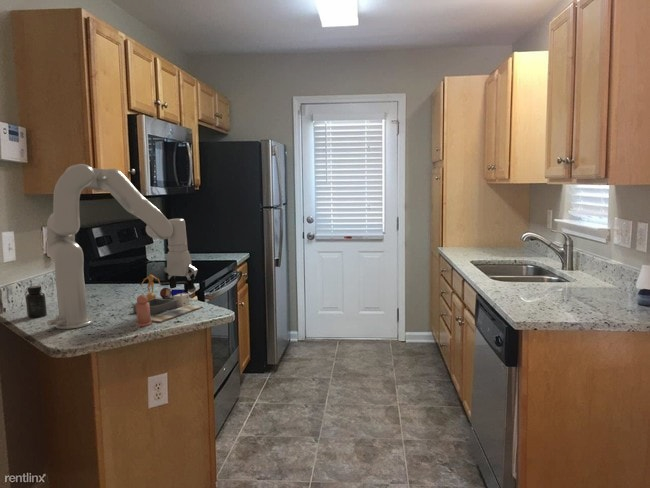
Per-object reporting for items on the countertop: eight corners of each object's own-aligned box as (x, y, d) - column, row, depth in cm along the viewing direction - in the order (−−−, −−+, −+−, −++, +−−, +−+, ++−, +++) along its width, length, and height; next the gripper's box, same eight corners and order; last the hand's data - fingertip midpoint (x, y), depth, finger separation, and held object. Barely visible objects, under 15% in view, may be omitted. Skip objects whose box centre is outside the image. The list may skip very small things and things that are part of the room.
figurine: (140, 303, 226) (137, 276, 225) (144, 300, 232) (142, 273, 231) (159, 302, 226) (157, 275, 225) (163, 299, 232) (161, 272, 231)
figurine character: (192, 296, 243) (158, 297, 236) (193, 280, 243) (159, 280, 236) (195, 299, 237) (160, 300, 230) (196, 282, 237) (161, 282, 230)
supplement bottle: (30, 315, 213) (27, 286, 211) (48, 313, 214) (46, 284, 213) (25, 319, 206) (22, 289, 205) (44, 317, 208) (41, 287, 206)
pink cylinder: (144, 327, 188) (141, 297, 186) (133, 326, 190) (131, 296, 189) (154, 323, 192) (152, 294, 191) (144, 322, 195) (142, 293, 193)
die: (182, 307, 217) (181, 295, 216) (173, 306, 219) (172, 295, 219) (190, 304, 221) (189, 293, 221) (181, 303, 223) (180, 292, 223)
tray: (155, 314, 206) (155, 307, 205) (133, 312, 211) (133, 304, 211) (177, 307, 216) (176, 300, 216) (155, 305, 222) (154, 298, 221)
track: (160, 322, 193) (160, 321, 193) (144, 320, 196) (144, 319, 196) (202, 307, 214) (202, 306, 214) (187, 306, 218) (187, 304, 218)
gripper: (156, 249, 218) (160, 289, 220) (188, 250, 210) (192, 291, 213) (168, 246, 225) (172, 285, 227) (200, 247, 217) (204, 287, 219)
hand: (182, 288), depth 220 cm, fingers open, 9 cm apart
